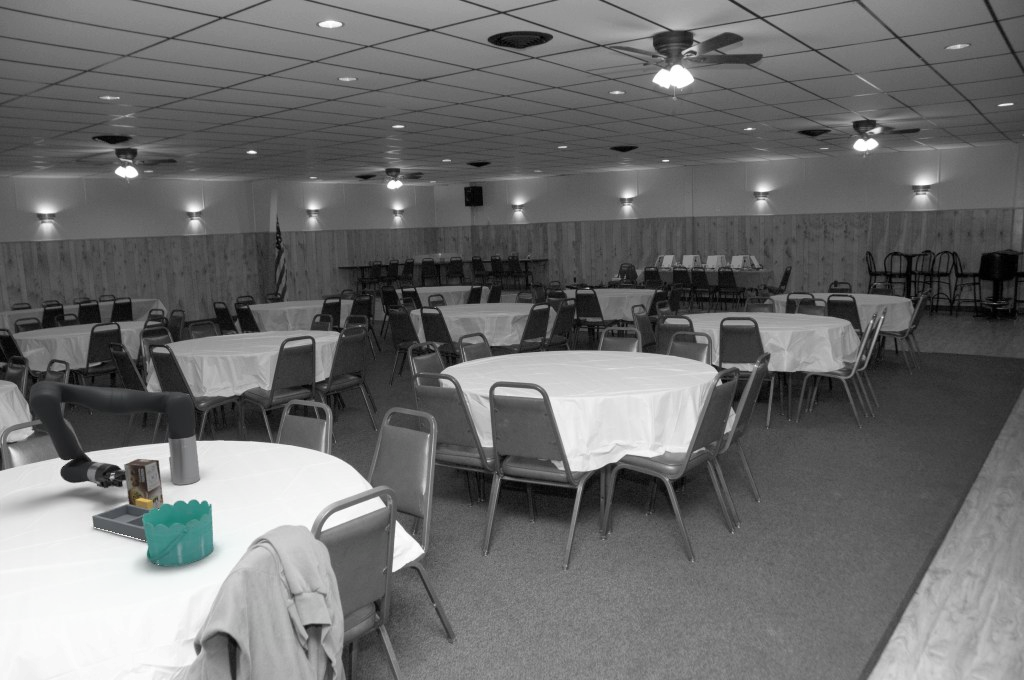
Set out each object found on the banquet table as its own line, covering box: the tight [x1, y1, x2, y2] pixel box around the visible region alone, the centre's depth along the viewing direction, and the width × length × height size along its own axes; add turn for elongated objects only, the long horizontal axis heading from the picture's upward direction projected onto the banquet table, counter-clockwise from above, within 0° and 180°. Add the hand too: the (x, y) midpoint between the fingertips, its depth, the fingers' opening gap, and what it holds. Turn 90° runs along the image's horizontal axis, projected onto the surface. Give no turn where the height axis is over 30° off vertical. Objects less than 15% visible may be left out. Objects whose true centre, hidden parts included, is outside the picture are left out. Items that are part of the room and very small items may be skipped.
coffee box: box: [123, 458, 164, 510], centre depth 261 cm, size 9×6×16 cm
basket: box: [142, 499, 214, 567], centre depth 223 cm, size 19×18×13 cm
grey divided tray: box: [91, 498, 174, 541], centre depth 244 cm, size 30×14×6 cm, turn 60°
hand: (133, 480), depth 264 cm, fingers open, 8 cm apart
